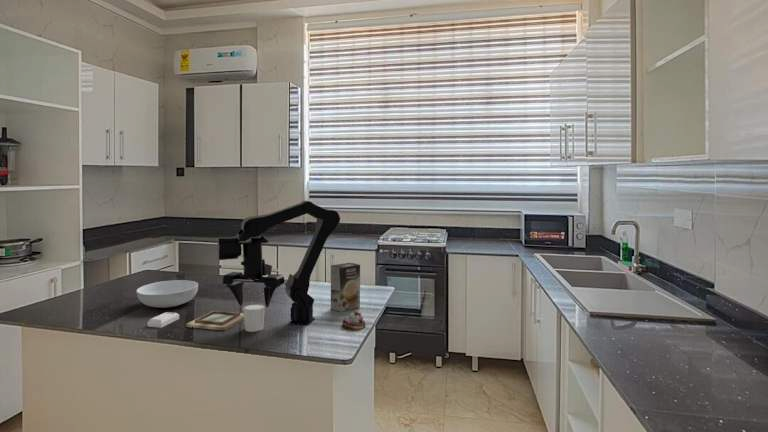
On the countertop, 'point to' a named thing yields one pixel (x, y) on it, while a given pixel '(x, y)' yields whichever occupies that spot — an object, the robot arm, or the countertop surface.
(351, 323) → the pastry
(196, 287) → the serving bowl
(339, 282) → the coffee box
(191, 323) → the board
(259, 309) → the white tapered cylinder
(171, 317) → the soap bar
